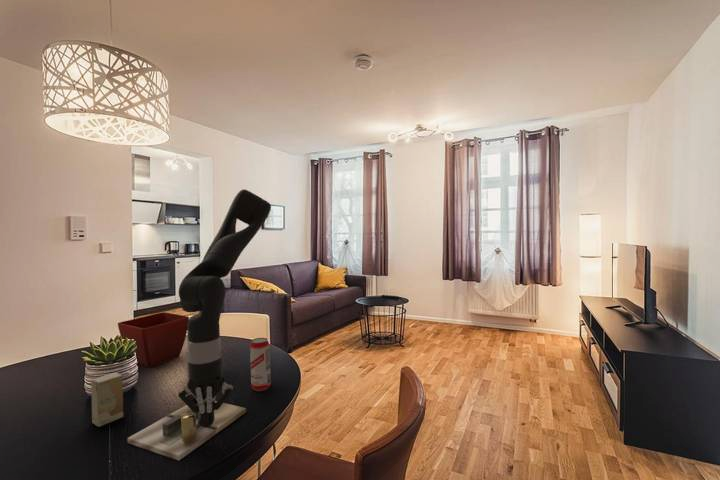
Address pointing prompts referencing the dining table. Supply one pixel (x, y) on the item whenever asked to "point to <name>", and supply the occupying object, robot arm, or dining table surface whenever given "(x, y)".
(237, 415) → the door board
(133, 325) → the plant pot
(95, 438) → the dining table surface
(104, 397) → the skincare box
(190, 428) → the latch arm
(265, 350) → the beer can
